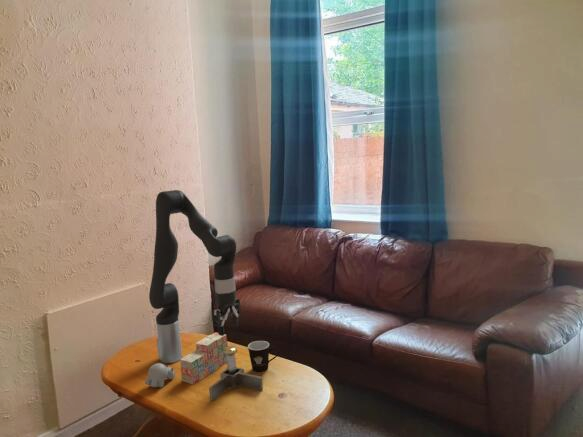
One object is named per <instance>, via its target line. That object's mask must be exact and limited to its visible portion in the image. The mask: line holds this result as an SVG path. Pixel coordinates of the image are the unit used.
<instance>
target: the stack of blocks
mask: <svg viewBox="0 0 583 437" xmlns="http://www.w3.org/2000/svg"><path fill="white" fill-rule="evenodd" d="M227 336H228V335H227V334H225V333H224V335H223V336H221V335H219V334H218V332H214V333H211V334H209V335H207V336H206V337H204V338H202V339H201V340H199V341H197V342H195V350H194V351H192V352H191V353H189V354H187V355H185V356H184V357H182V358H181V359H180V360H179V362H180V372H181V373H180V374H181V375H180V376H181V381H182V382H185V383H188V384H190V385H191V384H192V385H195V384H196V383H198V382H199V381H201V380H203V379H204V378H206V377H207V376H209V375H210V374H212V373H214V372H215V371H216V370H218V369H219V368H221V367H222V366H224V365H227V356H226V354H224V353H223V349H224V348H225V347H228V345H229V344H228V338H227Z"/></svg>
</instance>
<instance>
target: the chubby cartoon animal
mask: <svg viewBox="0 0 583 437" xmlns="http://www.w3.org/2000/svg"><path fill="white" fill-rule="evenodd" d="M174 369H175V368H174V367H170V364H169V365H167V366H166V365H165V364H164V363H162V362H161V363H160V362H159V363H158V362H157V363H154V364H152V365H151V366H150V367H149V369H148V371H147V378H146V379H145V381H144V384H145V385H146V386H150V387H151V388H164V385H165V380H166V379H168V380H174V378H175V375H176V370H174Z"/></svg>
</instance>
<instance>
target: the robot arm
mask: <svg viewBox="0 0 583 437" xmlns="http://www.w3.org/2000/svg"><path fill="white" fill-rule="evenodd" d="M178 213H180V214H183V215H184V216H185V217H186V218H187V222H188V226H189V229H190V231H191V232H192V233H193V234H194V235H195V236H196V237H197V238H198V239H199V240H200V241H201V242H202V243H203V246H204V247H205V250H206V251H207V252H208V254H209V255H210V256H212V257H213V258H219V257H221V258H220V259H219V260H218V261H216V262H215V263H214V266H213V271H214V274H213V275H214V292H215V293H214V294H215V295H214V296H215V302H216V304H217V305H218V307H217V309H213V310H212V325H213V326H214V327H217V333H218V334H219V335H221V336H223V335H224V334H225V326H224V325H225V321H227V319H228V317H229V316H231V326H232V327H235V328H237V327H238V326H239V320H238V319H239V315H241V313H242V308H241V306H242V305H241V300H240V299H239V298H237V292H236V291H237V290H236V289H237V288H236V281H235V274H234V273H235V272H234V264H235V260H236V253H237V242H236V240H235V238H234V237H233V236H232V235H230V234H224V235H221V236H220V235H219V236H218V229H217V227H215V225H213V224H212V223H211V222H210V221H209V220H207V219H206V218H205V217H204V215H202V214H201V213H200V211H199V210H198V208H196V206H195V205H194V204H193V202H192V201H191V200H190V198H189V197H188V196H187V195H186V194H185V193H184V191H181V190H179V189H174V190H173V189H172V190H166V191H161V192H159V193H158V194H157V195H156V199H155V223H156V224H155V225H156V226H155V227H156V228H155V230H156V231H155V241H154V253H153V269H152V276H151V281H150V288H149V293H148V294H149V296H148V299H149V303H150V306H151V307H152V308H153V309H155V310H159V309H161V311H160V312H159V313H158V314H156V316H155V323H156V330H157V338H156V348H157V355H158V360H159V361H160V362H161V363H162V364H173V363H176V362H180V359H182V358H183V351H182V342H181V332H180V331H181V330H180V329H181V328H180V322H179V321H180V320H179V315H180V301H179V292H178V289H177V287H176V286H175V284H173V283H171V282H169V283H166V281H167V278H168V277H169V275H170V273H171V271H172V270H173V268H174V267H175V264H176V263H177V260H178V250H179V243H178V240H177V238H176V236H175V234H174V232H173V231H172V229H171V226H170V219H171V218H170V217H171V215H173V214H178Z"/></svg>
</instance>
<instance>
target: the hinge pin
mask: <svg viewBox="0 0 583 437" xmlns="http://www.w3.org/2000/svg"><path fill="white" fill-rule="evenodd" d="M237 352H238V347H237V346H235V345H229V346H228V347H225V348H224V349H223V353H224V354H226V356H227V363H226V366H227V367H226V369H227V368H228V374H230V375H234V374H236V367H237V362H236V353H237Z"/></svg>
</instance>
